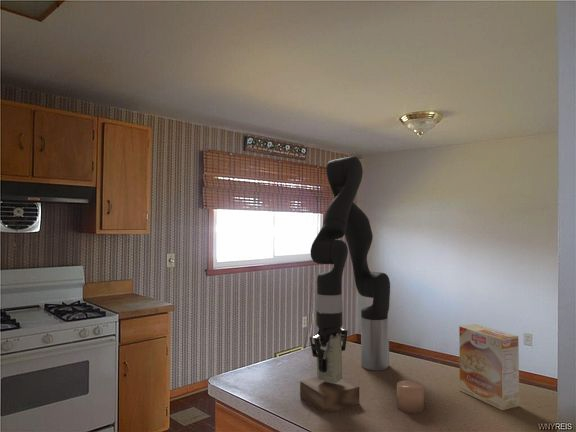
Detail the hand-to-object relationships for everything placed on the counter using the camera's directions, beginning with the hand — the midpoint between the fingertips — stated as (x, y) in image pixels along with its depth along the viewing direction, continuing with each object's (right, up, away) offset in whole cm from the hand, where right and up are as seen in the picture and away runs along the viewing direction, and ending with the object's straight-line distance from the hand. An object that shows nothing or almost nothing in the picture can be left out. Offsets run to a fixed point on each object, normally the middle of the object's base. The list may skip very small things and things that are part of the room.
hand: (329, 368), depth 118 cm
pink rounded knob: (+22, -9, -5) cm, 24 cm away
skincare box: (0, -3, 0) cm, 3 cm away
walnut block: (0, -9, 0) cm, 9 cm away
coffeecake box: (+46, -9, +1) cm, 47 cm away
